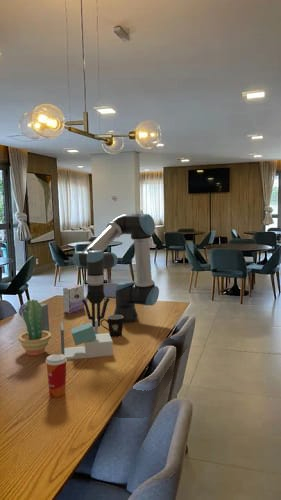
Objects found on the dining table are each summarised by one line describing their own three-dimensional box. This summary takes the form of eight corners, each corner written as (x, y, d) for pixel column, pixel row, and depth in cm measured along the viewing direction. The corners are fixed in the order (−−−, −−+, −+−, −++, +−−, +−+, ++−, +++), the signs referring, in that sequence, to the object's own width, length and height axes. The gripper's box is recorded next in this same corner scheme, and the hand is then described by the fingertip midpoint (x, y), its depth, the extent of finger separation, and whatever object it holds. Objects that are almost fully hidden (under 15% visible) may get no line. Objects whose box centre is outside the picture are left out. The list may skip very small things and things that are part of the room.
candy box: (78, 307, 260) (77, 284, 258) (84, 309, 257) (84, 285, 255) (63, 312, 249) (62, 287, 247) (69, 313, 246) (68, 288, 244)
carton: (94, 333, 183) (91, 322, 182) (96, 338, 176) (92, 326, 175) (74, 340, 181) (70, 329, 180) (75, 345, 174) (71, 333, 173)
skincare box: (43, 336, 203) (42, 307, 202) (31, 335, 205) (29, 306, 203) (50, 331, 212) (49, 303, 210) (38, 330, 213) (37, 302, 211)
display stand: (108, 346, 188) (108, 318, 186) (112, 355, 177) (112, 325, 175) (61, 350, 183) (60, 322, 181) (62, 360, 171) (61, 330, 170)
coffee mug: (126, 333, 206) (126, 315, 205) (119, 338, 198) (118, 320, 197) (107, 330, 211) (107, 313, 210) (99, 335, 203) (99, 317, 202)
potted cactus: (24, 345, 190) (22, 296, 187) (55, 345, 189) (53, 296, 186) (13, 357, 174) (11, 304, 172) (47, 358, 174) (45, 304, 171)
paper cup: (48, 389, 144) (47, 353, 142) (69, 388, 145) (67, 352, 143) (45, 399, 136) (43, 362, 135) (66, 398, 137) (65, 361, 135)
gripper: (82, 286, 172) (83, 337, 174) (110, 284, 175) (111, 334, 177) (80, 283, 179) (81, 332, 181) (107, 281, 182) (108, 329, 184)
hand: (96, 333), depth 179 cm, fingers closed
